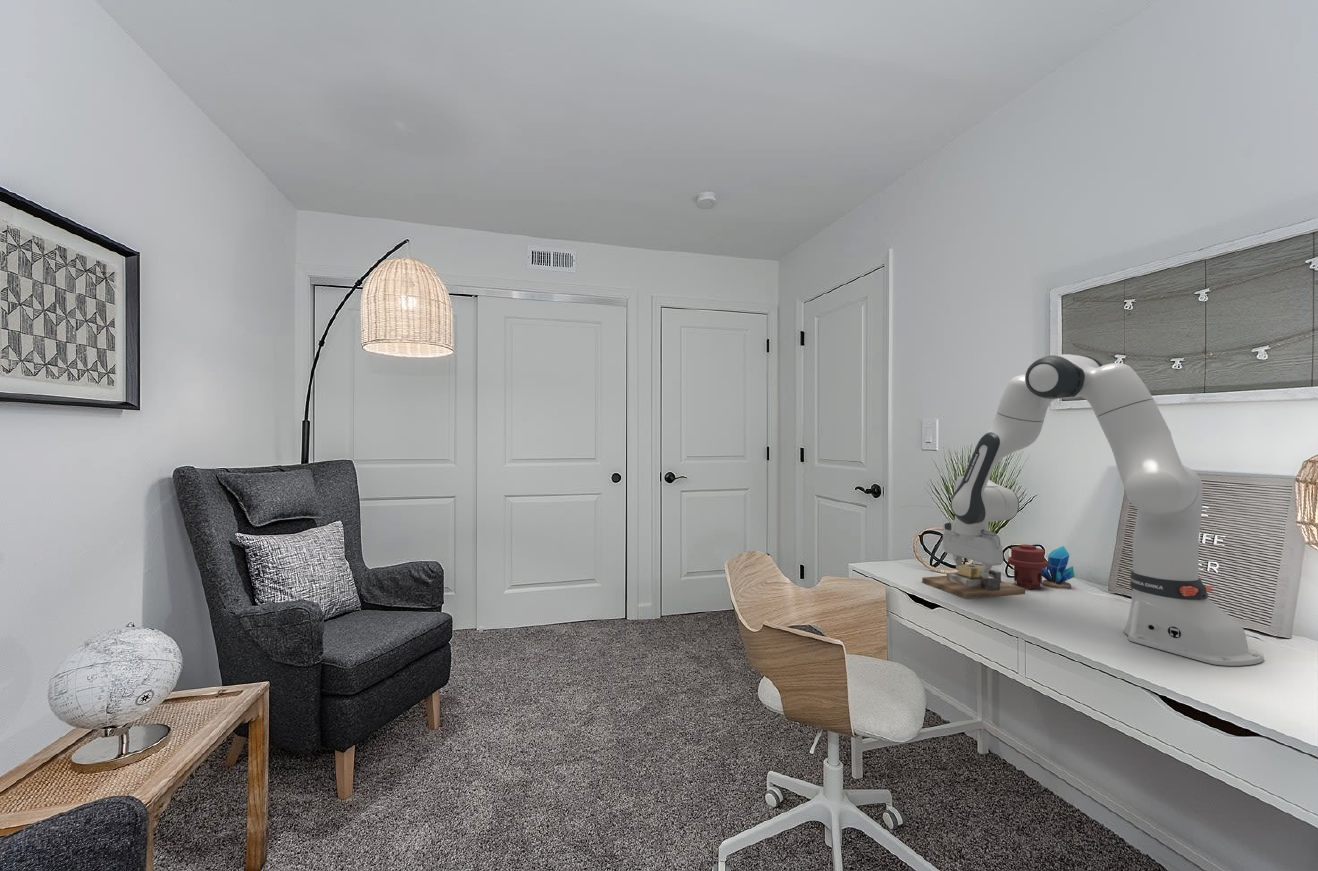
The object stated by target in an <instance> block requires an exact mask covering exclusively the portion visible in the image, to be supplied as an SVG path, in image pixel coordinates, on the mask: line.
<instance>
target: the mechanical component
mask: <svg viewBox="0 0 1318 871" xmlns="http://www.w3.org/2000/svg"><path fill="white" fill-rule="evenodd" d="M1010 553H1011V554H1010V555H1011V556H1008V559H1007V560H1008V561H1007V562H1008V564H1009V565H1012V566H1013V580H1014V582H1016V586H1019V587H1022V588H1025V590H1031V589H1034V588H1035V589H1036V588H1037V589H1038V588H1040V587H1041V584H1042V581H1043V576H1042V569H1043V568H1046V569H1047V568H1048V560H1046V559H1045V550H1044V549H1042V548H1039V547H1037V546H1036V545H1033V544H1026V543H1023V544H1020V545H1019V546H1012V547H1011V552H1010Z"/></svg>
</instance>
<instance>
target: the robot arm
mask: <svg viewBox="0 0 1318 871" xmlns="http://www.w3.org/2000/svg"><path fill="white" fill-rule="evenodd" d="M1025 372H1026V373H1025V374H1019V375H1016V376H1014V377H1012V378H1011V379H1010V380H1009V382H1008V383H1007V385H1006V387H1005V389H1004V391H1003V393H1002V395H1001V398H1000V401H999V404H998V407H997V411H996V414H995V417H994V420H993V421H992V423H991V425H990V427H989V428H988V430H987V431H986V433H985V434H983V435H982V436H981V437H980V439H979V441H977V443H976V446H975V449H974V451H973V453H972V455H971V458H970V460H969V463H968V464H967V468H966V470H965V472H964V474H961V475H959V476H958V477H957V479H956V481H955V485H954V486H955V487H954V493H953V495H952V497H951V499H950V508H951V511H952V513H953V515H954V520H951V521H947V522H943V523H942V529H943V530H944V531H943V532H942V548H943V550H944V552H945V553H946V554H949V555H952V559H953V561H954V564H955V569H956V570H957V571H959V569H958V565H962V564H963V562H962V558H965V559H968V560H971V561H975V562H979V563H981V566H982V567H984V568H983V570H982V571H980V577H981V578H984V579H985V578H988V577H989V571H990V570H992V567H993V566H1000V565H1002V564H1003V562H1004V553H1003V547H1002V546H1003V545H1002V542H1001V538H1000V537H999V535H998V534H997V533H996V532H995V531H989V526H990V525H989V523H991V522H1000V521H1008V520H1012V519H1014V518H1016V516H1017V514H1018V513H1019V510H1020V501H1019V497H1018V496H1017V494H1016V492H1015V491H1014V490H1013V489H1011V488H1009V487H1004V486H1002V485H1000V484H997V483H995V482H993V481H992V480H990V478H991V475H992V473H993V471H994V468H995V466H996V465H997V464H998V463H999V462H1000V461H1001V460H1002V459H1004V458H1005V457H1007V456H1009V455H1011V454H1012V453H1015V452H1017V451H1020V450H1023V449H1026V448H1028V447H1029V446H1031V445H1033V443H1035V442H1036V441H1037V439H1038V437H1039V436H1040V434H1041V433H1042V429H1043V426H1044V423H1045V422H1044V421H1045V419H1046V415H1047V410H1048V408H1049V405H1050V404H1051V403H1052V402H1053V401H1055V400H1057V399H1059V400H1060V399H1061V400H1069V399H1077V398H1082V399H1084V400H1086V402H1088V404H1089V406H1090V407H1091V408H1092V410H1093V413H1094V415H1095V417H1096V419H1097V421H1098V423H1099V426H1100V428H1101V430H1102V431H1103V433H1104V436H1105V438H1106V440H1107V442H1108V444H1109V447H1110V449H1111V452H1112V454H1113V457H1114V461H1115V464H1116V467H1117V471H1118V474H1119V476H1120V480H1121V481H1122V485H1123V488H1124V491H1125V494H1126V495H1125V496H1126V497H1127V500H1128V501H1129V503H1130V504H1131V505H1132V506H1133V507H1135V508H1136V509H1137V513H1136V519H1135V526H1134V531H1133V535H1132V570H1131V571H1130V582H1129V583H1130V584H1129V586H1130V589H1131V603H1130V608H1129V613H1128V618H1127V620H1126V625H1125V627H1124V629H1123V632H1124V634H1126V635H1127V636H1128V641H1130V642H1132V643H1136V644H1138V645H1143V646H1147V647H1151V648H1153V649H1156V650H1160V651H1164V652H1166V653H1167V652H1168V653H1172V654H1175V655H1178V656H1181V657H1186V658H1187V659H1188V658H1189V659H1192V660H1197V661H1200V662H1204V663H1207V664H1209V665H1210V664H1211V665H1216V666H1230V667H1231V666H1232V667H1233V666H1234V667H1236V666H1237V667H1238V666H1240V667H1241V666H1249V665H1256V664H1260V663H1263V662H1264V660H1265V659H1264V654H1263V653H1261V652H1258V651H1256V650H1254V649H1250V648H1249V646H1248V639H1247V636H1246V632H1245V629H1244V627H1243V626H1242V624H1241V623H1240V622H1238V621H1236V620H1235V618H1233V617H1231V616H1230V615H1229V614H1227V612H1225V611H1224V610H1223V609H1221V607H1219V605H1217V604H1215V603H1214V602H1213V601H1212V600H1211V599H1209V593H1208V592H1214V590H1213V589H1212V588H1214V585H1205V584H1204V583H1203V581H1202V579H1201V578H1200V577H1199V576H1200V575H1199V574H1200V571H1199V570H1200V566H1199V565H1200V563H1199V560H1200V559H1199V558H1200V557H1199V553H1200V552H1199V550H1200V548H1199V545H1200V535H1201V534H1200V533H1201V532H1200V531H1201V522H1202V513H1203V498H1204V496H1203V494H1204V487H1203V482H1202V479H1201V477H1200V476H1199V475H1198V474H1197V472H1196V471H1194V470H1193V469H1191V468H1190V467H1188V466H1187V465H1186V466H1185V465H1183V463H1182V460H1181V459H1180V455H1179V454H1178V451H1177V448H1176V446H1175V442H1174V439H1173V437H1172V433H1171V430H1170V428H1169V426H1168V425H1167V422H1166V420H1165V418H1164V417H1163V415H1162V413H1161V411H1160V409H1159V406H1158V405H1157V403H1156V401H1155V400H1154V397H1153V395H1152V394H1151V392H1150V390H1149V389H1148V387H1147V386H1146V384H1145V383H1144V382H1143V380H1142V379H1141V378H1140V376H1139V375H1138V373H1136V371H1135V370H1134V369H1133V368H1132V366H1129V365H1128V364H1125V363H1122V362H1121V363H1120V362H1119V363H1118V362H1115V363H1114V362H1113V363H1112V362H1111V363H1107V364H1103V363H1102V362H1101V361H1100V360H1098V359H1097V358H1094V357H1092V356H1090V355H1083V354H1079V355H1077V354H1069V353H1068V354H1067V353H1066V354H1065V353H1064V354H1057V355H1047V356H1044V357H1041V358H1038V359H1037V360H1035V361H1033V363H1031V364H1030V365H1029V366H1028V368H1027V370H1026V371H1025Z"/></svg>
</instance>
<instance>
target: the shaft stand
mask: <svg viewBox="0 0 1318 871" xmlns="http://www.w3.org/2000/svg"><path fill="white" fill-rule="evenodd" d="M921 582H922V583H923V584H926V585H929V586H931V587H934V588H936V589H939V590H941V589H942V590H941V591H944V592H947V593H950V594H952V595H955V596H958V597H960V598H963V599H965V598H967V599H974V598H973V597H979V598H987V597H1000V596H1001V597H1002V596H1014V595H1015V596H1016V595H1025V594H1026V589H1025V588H1024V587H1023V586H1020V585H1017V584H1016V585H1015V584H1013V583H1009V582H1005V581H1002V572H1001V571H998V570H993V569H991V570H990V571H989V577H988V578H985V579H968V578H965V577H962V576H959V571H958V572H946V575H939V576H925V577H924V576H923V577H921Z"/></svg>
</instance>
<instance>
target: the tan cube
mask: <svg viewBox="0 0 1318 871" xmlns="http://www.w3.org/2000/svg"><path fill="white" fill-rule="evenodd" d="M983 568H984V567H983V566H982V565H978V564H974V563H965V564H964V563H962V565H958V569H959V570H958V572H959V576H962V577H965V578H968V579H984V578H981V577H980V571H982V570H983Z"/></svg>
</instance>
